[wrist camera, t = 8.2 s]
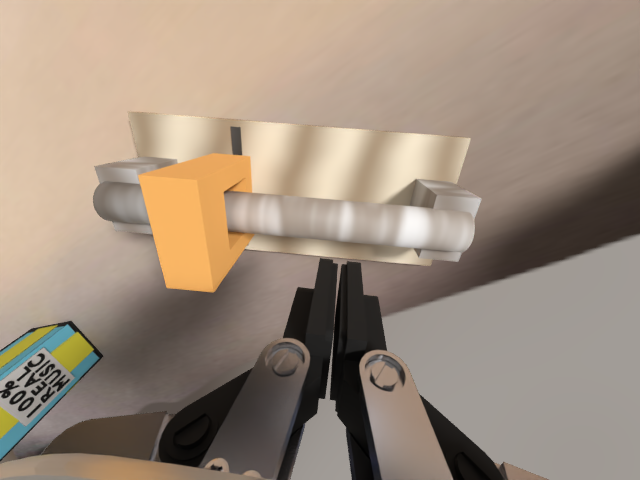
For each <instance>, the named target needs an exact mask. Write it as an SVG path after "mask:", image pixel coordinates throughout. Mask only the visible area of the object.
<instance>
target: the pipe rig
mask: <svg viewBox="0 0 640 480" xmlns="http://www.w3.org/2000/svg"><path fill="white" fill-rule="evenodd" d="M127 113H128V117H129V121H130V125H131V129H132V133H133V137H134V141H135V145H136V149H137V153H138V158H133V159H128V160H123V161H118V162H113V163H108V164H103V165H98V166H94V167H95V170H96V173H97V176H98V179H99V182H100V184H99V185H98V187H97V188H96V190H95V192H94V196H93V204H94V208H95V210H96V212H97V213H98V215H99V216H100V217H102V218H103V219H105V220H108V221H112V222H113V225H114V228H115V231H123V232H134V233H145V234H153V232H152V229H151V225H150V221H149V217H148V213H147V209H146V205H145V201H144V197H143V193H142V189H141V186H140V182H139V178H138V175H140V174H143V173H146V172H150V171H153V170H157V169H160V168H164V167H167V166H171V165H174V164H178V163H181V162H185V161H188V160H192V159H195V158H199V157H202V156H205V155H209V154H212V153H218V154H230V155H242V156H250V159H251V178H252V193H250V192H239V191H227V190H226V191H224V200H225V209H226V219H227V228H228V232H239V233H251V234H255V235H254V236H253V238H252V239H251V241H250V242H249V243H248V245H247V246H246V248H245V249H249V250H260V251H271V252H282V253H293V254H304V255H315V256H326V257H337V258H348V259H359V260H370V261H381V262H392V263H403V264H414V265H425V266H431V263H432V260H433V259H434V260H445V261H456V262H458V261H459V258H460V256H461V253H462V252H464V251H466V250H467V249H468V248H469V246H470V245H471V243H472V240H473V237H474V232H475V223H474V218H475V215H476V213H477V210H478V207H479V205H480V202H481V198H479V197H478V196H476V195H474V194H472V193H470V192H469V191H467V190H465V189H463V188H462V187H460V186H458V185H456V184H457V181H458V178H459V175H460V172H461V168H462V165H463V162H464V159H465V156H466V153H467V149H468V146H469V143H470V140H471V138H465V137H453V136H440V135H427V134H414V133H401V132H388V131H376V130H363V129H350V128H337V127H324V126H311V125H299V124H286V123H273V122H260V121H247V120H234V119H222V118H209V117H196V116H183V115H170V114H157V113H144V112H127Z"/></svg>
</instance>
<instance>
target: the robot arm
mask: <svg viewBox="0 0 640 480" xmlns="http://www.w3.org/2000/svg"><path fill="white" fill-rule="evenodd" d="M337 268H338V264H335V263H333V260H330V259H321V258H320V262H319V267H318V272H317V278H316V283H315V288H314V289H309V288H300V287H298V288H297V291H296V294H295V298H294V301H293V305H292V308H291V312H290V315H289V318H288V322H287V325H286V329H285V332H284V336H283V338H282V339H277V340H275V341H272V342H271V343H270V344H268V345H267V346H266V347H265V348H264V350H263V351H262V352H261V354H260V356H259V358H258V360H257V362H256V364H255V365H254V367H253V368H252V369H250V370H248V371H247V372H245V373H243V374H241V375H240V376H238V377H236V378H235V379H233V380H231V381H229V382H228V383H226V384H224V385H223V386H221V387H219V388H218V389H216V390H214V391H212V392H211V393H209V394H207V395H206V396H204V397H202V398H200V399H199V400H197V401H195V402H193V403H192V404H190V405H188V406H187V407H185V408H184V409H182V410H181V411H180V412H178V413H177V414H169V415H168V413H167V411H162V412H153V413H143V414H134V415H124V416H115V417H105V418H96V419H89V420H86V421H82V422H79V423H77V424H75V425H73V426H71V427H69V428H67V429H66V430H65V431H63V432H62V433H61V434H60V435H58V436H57V437H56V438H55V439H54V440H53V441H52V442H51V443H50V444H49V445H48V446H47V448H46V449H45V450H44V451H43V453H42V454H41V455H40V456H33V457H28V458H23V459H19V460H14V461H9V462H5V463H3V464H0V480H290V479H291V475H292V472H293V468H294V464H295V460H296V457H297V453H298V449H299V446H300V443H301V439H302V435H303V432H304V428H305V423H306V422H307V421H308V420H309V419H310V418H312V417H313V416H314V415H315V414H316V413H317V409H318V400H319V398H321V399H325V394H326V386H327V379H328V372H329V363H330V356H331V349H332V340H333V330H334V341H333V358H332V374H331V389H330V390H331V391H330V400H335V401H336V409H335V411H336V412H337V413H338V414H337V416H338V417H339V419H340V420H341V421H342V422H343V424H344V425H345V426H346V437H347V445H348V453H349V461H350V469H351V477H352V480H548V479H546V478H543V477H540V476H538V475H536V474H533V473H531V472H528V471H525V470H523V469H520V468H518V467H515V466H513V465H510V464H508V463H505V462H503V463H502V464H501V465H499V464H497V463H494V462H493V461H492V460H491V459H490V458H489V457H488V456H487V455H486V453H485V452H483V451H482V450H481V449H480V448H479V447H478V446H477V445H476V444H474V442H472V441H471V440H470V439H469V438H468V437H467V436H466V435H465V434H463V433H462V432H461V431H460V430H459V429H458V428H457V427H455V425H453V424H452V423H451V422H450V421H449V420H448V419H447V418H446V417H444V416H443V415H442V414H441V413H440V412H439V411H438V410H437V409H436V408H434V407H433V406H432V405H431V404H430V403H429V402H428V401H427V400H425V399H424V398H423V397H422V396H421V395H420V394H419V393H418V390H417V388H416V385H415V383H414V380H413V378H412V375H411V373H410V371H409V369H408V367H407V365H406V364H405V363H404V362H403V361H402V360H401V359H400V358H399V357H397V356H396V355H394V354H393V353H390V352H388V351H387V348H386V342H385V336H384V330H383V324H382V318H381V312H380V306H379V300H378V297H377V296H368V295H363V284H362V273H361V263H358V262H349V261H347V265H344V264H342V266H341V274H340V282H339V290H338V297H337V305H336V313H335V299H336V284H337ZM334 315H335V324H334Z"/></svg>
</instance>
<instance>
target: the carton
mask: <svg viewBox="0 0 640 480" xmlns="http://www.w3.org/2000/svg"><path fill="white" fill-rule="evenodd" d="M102 357H103V355H102V354H101V353H100V352H99V351H98V350H97V349H96V348H95V346H94V345H93V344H92V343H91V342H90V341H89V340H88V339H87V338H86V337H85V336H84V334H83V333H82V332H81V331H80V330H79V329H78V328H77V327H76V326H75V325H74V324H73V322H72V321H69V322H64V323H58V324H53V325H48V326H43V327H38V328H33V329H30V330H29V331H28V332H26V333H25V334H23V335H22V336H20V337H19V338H17V339H16V340H15V341H13V342H12V343H10V344H9V345H7V346H6V347H4V348H3V349H2V350H0V461H1V460H2V459H3V458H4V457H5V456H6V455H7V454H8V453H9V452H10V451H11V450H12V449H13V448H14V447H15V446H16V445H17V444H18V443H19V442H20V441H21V440H22V439H23V438H24V437H25V436H26V435H27V434H28V433H29V432H30V431H31V430H32V429H33V428H34V427H35V425H36V424H37V423H38V422H39V421H40V420H41V419H42V418H43V417H44V416H45V415H46V414H47V413H48V412H49V411H50V410H51V409H52V408H53V407H54V406H55V405H56V404H57V403H58V402H59V401H60V400H61V399H62V398H63V397H64V396H65V395H66V394H67V393H68V392H69V391H70V390H71V389H72V388H73V387H74V386H75V385H76V384H77V383H78V382H79V381H80V380H81V379H82V378H83V376H84V375H85V374H86V373H87V372H88V371H89V370H90V369H91V368H92V367H93V366H94V365H95V364H96V363H97V362H98V361H99V360H100V359H101V358H102Z"/></svg>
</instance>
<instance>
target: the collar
mask: <svg viewBox="0 0 640 480" xmlns="http://www.w3.org/2000/svg"><path fill="white" fill-rule="evenodd" d="M138 178H139V182H140V186H141V189H142V193H143V197H144V201H145V205H146V209H147V213H148V217H149V221H150V225H151V229H152V232H153V236H154V240H155V244H156V248H157V252H158V256H159V260H160V264H161V268H162V272H163V275H164V279H165V283H166V287H167V288H172V289H183V290H193V291H204V292H215V290H216V289H217V287H218V286H219V285H220V283H221V282H222V280H223V279H224V277H225V276H226V275H227V273H228V272H229V270H230V269H231V268H232V266H233V265H234V263H235V262H236V260H237V259H238V258H239V256H240V255H241V253H242V252H243V250H244V249H245V248H246V246H247V245H248V243H249V242H250V241H251V239H252V238H253V236H254V235H255V234H251V233H239V232H228V228H227V219H226V209H225V200H224V191H226V190H227V191H239V192H250V193H252V178H251V159H250V156H242V155H230V154H218V153H212V154H209V155H205V156H202V157H199V158H195V159H192V160H188V161H185V162H181V163H178V164H174V165H171V166H167V167H164V168H160V169H157V170H153V171H150V172H146V173H143V174H140V175H138Z"/></svg>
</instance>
